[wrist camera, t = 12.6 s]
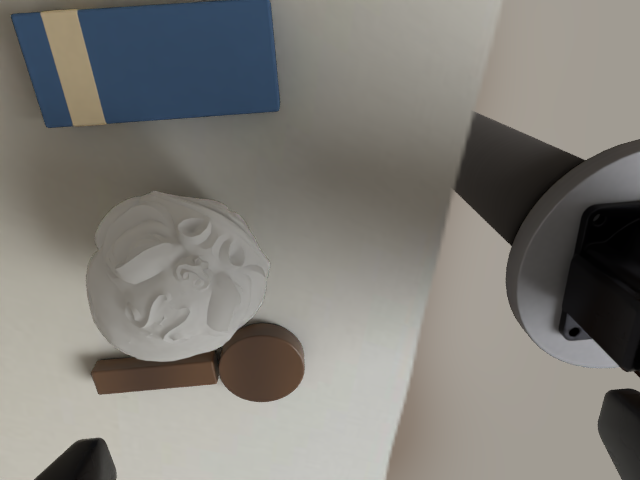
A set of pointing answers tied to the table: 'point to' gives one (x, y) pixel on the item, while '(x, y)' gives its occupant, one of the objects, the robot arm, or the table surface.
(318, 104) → the table surface
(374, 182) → the table surface
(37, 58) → the blue eraser
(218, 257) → the frog figurine
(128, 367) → the brown disc with handle
